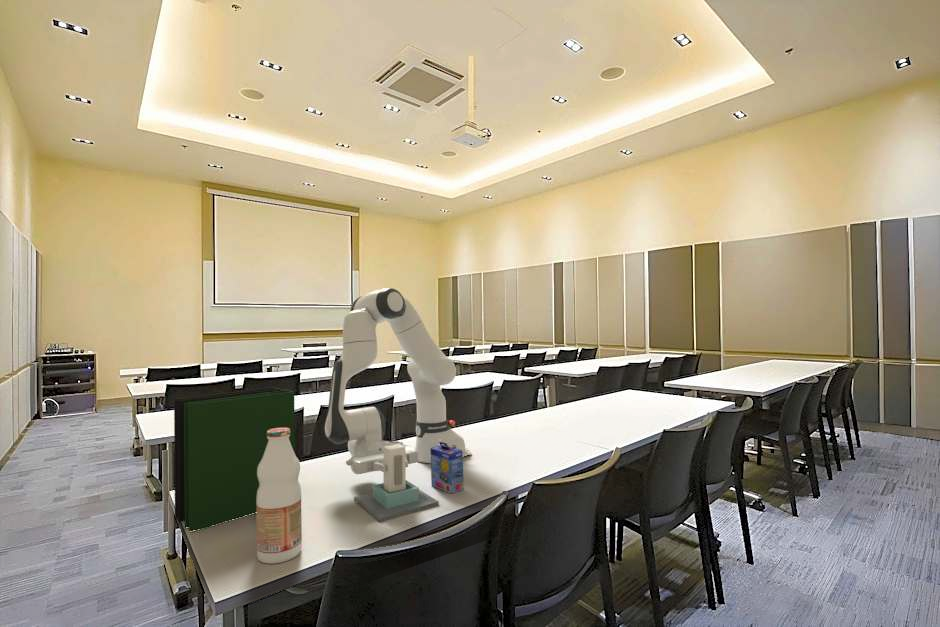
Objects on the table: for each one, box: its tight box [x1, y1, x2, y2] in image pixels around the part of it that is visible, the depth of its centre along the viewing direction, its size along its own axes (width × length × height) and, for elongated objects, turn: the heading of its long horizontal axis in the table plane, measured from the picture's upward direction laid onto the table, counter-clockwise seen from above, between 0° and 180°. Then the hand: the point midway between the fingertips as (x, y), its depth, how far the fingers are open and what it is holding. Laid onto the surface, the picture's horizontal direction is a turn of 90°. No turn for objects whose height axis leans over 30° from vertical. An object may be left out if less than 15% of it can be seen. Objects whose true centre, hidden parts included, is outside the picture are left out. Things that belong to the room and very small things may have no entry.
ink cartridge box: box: [430, 442, 465, 494], centre depth 144 cm, size 10×6×14 cm, turn 44°
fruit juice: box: [256, 428, 303, 565], centre depth 104 cm, size 9×9×28 cm
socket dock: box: [353, 479, 440, 522], centre depth 133 cm, size 18×18×4 cm
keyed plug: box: [383, 444, 407, 493], centre depth 132 cm, size 5×5×12 cm
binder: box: [173, 386, 296, 532], centre depth 130 cm, size 27×15×32 cm, turn 137°
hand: (395, 466), depth 132 cm, fingers closed on keyed plug, 5 cm apart
